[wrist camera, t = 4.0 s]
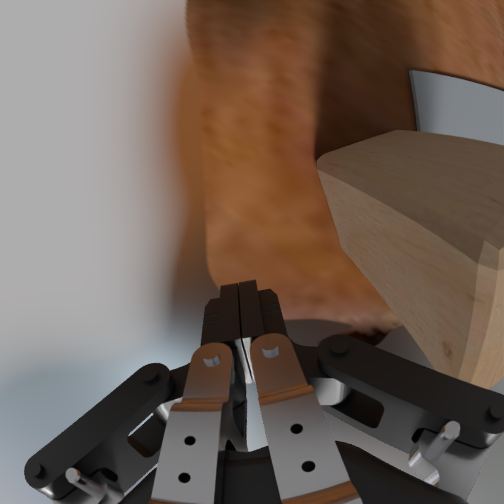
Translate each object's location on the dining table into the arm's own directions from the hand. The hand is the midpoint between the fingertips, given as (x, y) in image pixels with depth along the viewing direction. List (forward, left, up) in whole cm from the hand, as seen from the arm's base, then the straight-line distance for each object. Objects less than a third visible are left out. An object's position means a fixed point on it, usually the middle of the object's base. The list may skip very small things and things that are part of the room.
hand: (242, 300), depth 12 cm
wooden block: (0, +13, -14) cm, 19 cm away
